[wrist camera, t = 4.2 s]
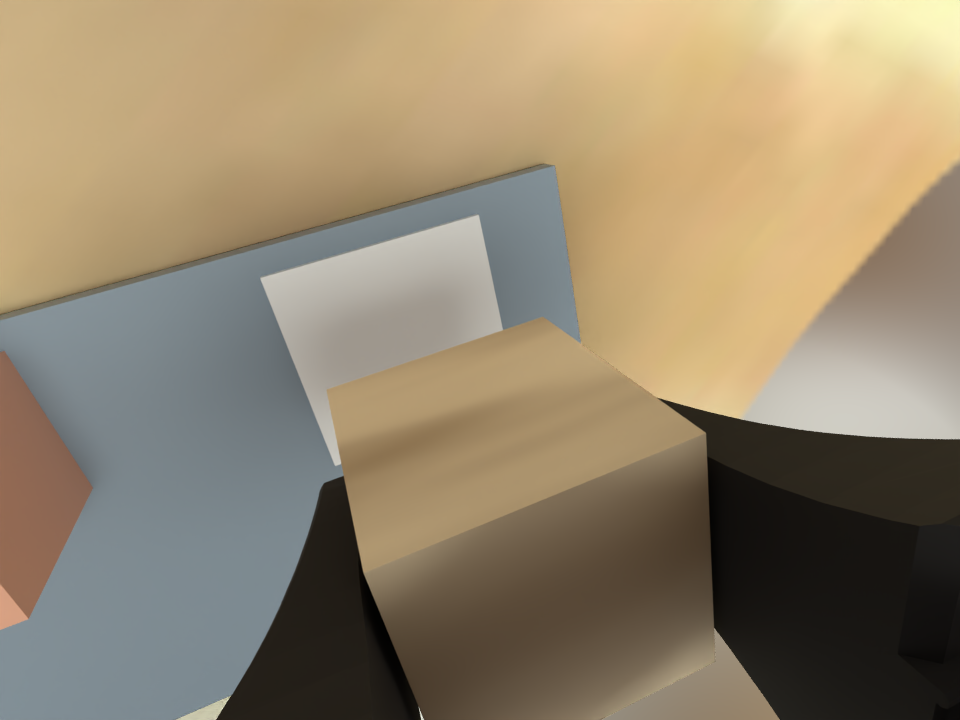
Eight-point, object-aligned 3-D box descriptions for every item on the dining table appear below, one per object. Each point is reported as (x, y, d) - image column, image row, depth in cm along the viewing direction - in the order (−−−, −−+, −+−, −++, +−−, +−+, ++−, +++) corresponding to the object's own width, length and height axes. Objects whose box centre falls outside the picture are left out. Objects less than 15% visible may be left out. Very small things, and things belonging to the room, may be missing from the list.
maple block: (572, 488, 14) (715, 661, 9) (391, 562, 13) (454, 793, 8) (542, 316, 12) (705, 433, 7) (326, 389, 11) (362, 573, 6)
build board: (598, 519, 25) (611, 534, 24) (49, 754, 20) (39, 783, 19) (543, 163, 18) (557, 165, 17) (-286, 394, 14) (-325, 413, 13)
